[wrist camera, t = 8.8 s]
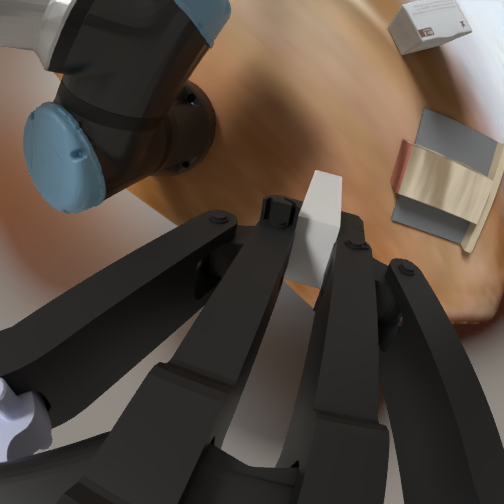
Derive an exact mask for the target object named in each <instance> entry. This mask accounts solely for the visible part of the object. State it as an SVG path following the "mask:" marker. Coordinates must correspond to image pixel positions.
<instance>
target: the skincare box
mask: <svg viewBox="0 0 504 504" xmlns="http://www.w3.org/2000/svg"><path fill="white" fill-rule="evenodd" d="M387 28H388V30H389V32H390V34H391V36H392V38H393V39H394V41H395V43H396V45H397V47H398V49H399V51H400V54H401V55H405V54H409V53H413V52H417V51H421V50H425V49H429V48H433V47H437V46H440V45H443V44H445V43H447V42H449V41H452V40H454V39H456V38H459V37H461V36H464V35H467V34H469V33H471V32H472V29H471V27H470V25H469V23H468V21H467V20H466V18H465V16H464V14H463V12H462V11H461V9H460V7H459V5H458V4H457V2H456V0H420V1H416V2H412V3H408V4H403V5H402V6H401V8H400V9H399V11H398V12H397V14H396V15H395V17H394V18H393V20H392V21H391V23H390V24H389V26H388V27H387Z"/></svg>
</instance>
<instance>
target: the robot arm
mask: <svg viewBox="0 0 504 504" xmlns="http://www.w3.org/2000/svg"><path fill="white" fill-rule="evenodd" d="M230 14H231V6H230V3H229V1H228V0H0V47H9V48H17V49H24V50H32V51H34V52H35V53H36V54H37V55H38V57H39V59H40V61H41V63H42V65H43V67H44V69H45V70H46V71H51V72H56V73H61V74H63V77H62V80H61V83H60V86H59V88H58V91H57V94H56V97H55V100H54V101H53V102H46V103H43V104H42V105H41V106H39V107H38V108H36V110H35V111H33V112H31V114H30V115H29V117H28V119H27V122H26V125H25V128H24V136H23V149H24V156H25V161H26V165H27V168H28V171H29V173H30V176H31V178H32V181H33V183H34V184H35V186H36V188H37V190H38V191H39V193H40V194H41V195H42V197H43V198H44V199H45V200H46V201H47V202H48V203H49V204H50V205H51V206H52V207H54V208H55V209H57V210H59V211H61V212H64V213H68V214H70V213H73V214H76V213H80V212H82V211H84V210H87V209H89V208H92V207H95V206H98V205H99V204H101V203H102V202H103V201H104V200H105V199H107V198H109V197H111V196H112V195H114V194H116V193H118V192H120V191H121V190H123V189H125V188H127V187H129V186H131V185H133V184H135V183H136V182H138V181H140V180H142V179H144V178H146V177H148V176H173V175H177V174H180V173H183V172H185V171H187V170H189V169H191V168H193V167H194V166H196V165H197V164H198V163H199V162H200V161H201V160H202V159H203V158H204V157H205V156H206V154H207V153H208V151H209V149H210V147H211V145H212V142H213V138H214V133H215V117H214V112H213V108H212V106H211V103H210V101H209V99H208V98H207V96H206V94H205V93H204V92H203V91H202V90H201V89H200V88H199V87H198V86H197V85H196V84H194V83H193V82H191V81H189V80H188V79H189V77H190V76H191V74H192V73H193V71H194V70H195V68H196V67H197V65H198V64H199V62H200V61H201V59H202V58H203V57H204V55H205V54H206V52H207V51H208V50H209V48H212V47H213V45H214V40H215V38H216V37H217V35H218V34H219V32H220V31H221V29H222V28H223V26H224V25H225V24H226V22H227V21H228V19H229V17H230ZM341 197H342V177H340V176H337V175H333V174H329V173H326V172H322V171H318V170H315V173H314V175H313V178H312V181H311V183H310V186H309V189H308V192H307V194H306V197H305V200H304V202H303V201H299V200H295V199H291V198H288V197H285V196H279V195H271V196H266V197H265V198H264V199H263V205H262V211H261V217H260V220H259V222H258V223H257V225H256V226H239V225H237V218H236V217H235V216H234V215H233V214H231V213H228V212H225V211H222V210H215V211H208V212H205V213H203V214H201V215H199V216H197V217H195V218H193V219H192V220H190V221H188V222H186V223H184V224H182V225H180V226H178V227H177V228H175V229H173V230H171V231H169V232H167V233H166V234H164V235H162V236H160V237H158V238H156V239H155V240H153V241H151V242H149V243H147V244H146V245H144V246H142V247H140V248H139V249H137V250H135V251H133V252H131V253H130V254H128V255H126V256H124V257H123V258H121V259H119V260H118V261H116V262H114V263H112V264H111V265H109V266H107V267H106V268H104V269H102V270H101V271H99V272H97V273H96V274H94V275H92V276H91V277H89V278H87V279H86V280H84V281H83V282H81V283H79V284H77V285H76V286H74V287H73V288H71V289H69V290H68V291H66V292H65V293H63V294H61V295H60V296H58V297H57V298H55V299H53V300H52V301H50V302H49V303H47V304H46V305H44V306H43V307H41V308H40V309H38V310H36V311H35V312H33V313H32V314H30V315H29V316H28V317H26V318H24V319H23V320H22V321H20V322H18V323H17V324H16V325H14V326H13V327H10V328H7V329H4V330H2V331H0V504H383V503H384V497H385V488H386V479H387V470H388V458H389V431H388V429H387V427H386V426H385V425H381V424H379V422H378V416H377V414H378V386H379V377H380V381H381V384H382V389H383V393H384V397H385V401H386V405H387V410H388V414H389V419H390V423H391V428H392V433H393V438H394V443H395V449H396V454H397V459H398V465H399V471H400V477H401V484H402V490H403V498H404V504H504V448H503V446H502V442H501V439H500V436H499V433H498V430H497V427H496V424H495V421H494V418H493V415H492V413H491V410H490V407H489V405H488V402H487V400H486V397H485V395H484V392H483V390H482V387H481V385H480V382H479V380H478V378H477V375H476V373H475V371H474V369H473V367H472V364H471V362H470V360H469V358H468V356H467V354H466V352H465V349H464V347H463V345H462V343H461V341H460V339H459V337H458V335H457V334H456V331H455V330H454V328H453V326H452V324H451V322H450V320H449V318H448V316H447V315H446V313H445V311H444V309H443V307H442V305H441V304H440V302H439V300H438V298H437V297H436V295H435V293H434V292H433V290H432V288H431V286H430V285H429V283H428V281H427V280H426V278H425V277H424V275H423V273H422V272H421V270H420V269H419V268H418V267H417V266H416V265H414V264H413V263H412V262H409V261H408V260H406V259H405V260H404V259H399V258H395V259H392V260H391V262H390V264H389V266H387V265H385V264H383V263H381V262H379V261H377V260H376V259H374V258H373V257H372V249H371V247H370V245H369V244H368V243H367V242H365V235H364V228H363V227H364V226H363V221H362V220H361V219H360V217H359V216H357V215H353V214H350V213H346V212H343V211H341ZM283 278H284V279H287V280H291V281H294V282H298V283H301V284H305V285H309V286H312V287H316V288H319V289H320V288H321V290H320V293H319V295H318V298H317V301H316V304H315V306H314V309H313V311H315V316H314V321H313V326H312V331H311V336H310V341H309V346H308V350H307V355H306V359H305V364H304V368H303V373H302V377H301V381H300V385H299V389H298V394H297V398H296V402H295V406H294V410H293V414H292V417H291V421H290V425H289V428H288V432H287V436H286V440H285V443H284V446H283V450H282V453H281V456H280V458H279V460H278V462H277V464H276V467H275V468H264V467H251V466H248V465H246V464H244V463H243V462H241V461H239V460H237V459H236V458H234V457H232V456H231V455H229V454H227V453H226V452H224V451H222V450H221V446H222V443H223V440H224V438H225V435H226V432H227V430H228V428H229V425H230V423H231V420H232V418H233V415H234V413H235V410H236V408H237V405H238V402H239V400H240V397H241V395H242V392H243V390H244V387H245V385H246V382H247V379H248V377H249V374H250V372H251V369H252V366H253V364H254V361H255V358H256V355H257V353H258V350H259V347H260V345H261V342H262V339H263V337H264V334H265V331H266V328H267V326H268V323H269V320H270V317H271V315H272V312H273V309H274V306H275V303H276V301H277V298H278V295H279V292H280V289H281V286H282V282H283ZM322 282H323V283H322ZM321 285H322V287H321ZM205 304H206V305H205ZM204 305H205V306H204ZM203 306H204V308H203V309H202V311H201V312H200V314H199V316H198V317H197V319H196V320H195V322H194V324H193V325H192V327H191V329H190V330H189V331H188V333H187V335H186V337H185V338H184V340H183V341H182V343H181V344H180V346H179V348H178V349H177V351H176V352H175V354H174V356H173V357H172V358H171V360H170V361H169V362H168V363H162V362H159V363H158V364H156V365H155V366H154V367H153V368H152V369H151V371H150V372H149V373H148V375H147V376H146V378H145V379H144V381H143V382H142V384H141V385H140V387H139V388H138V390H137V391H136V393H135V395H134V396H133V398H132V399H131V401H130V402H129V404H128V405H127V407H126V408H125V410H124V411H123V413H122V415H121V416H120V418H119V419H118V421H117V422H116V424H115V425H114V427H113V429H112V430H111V431H110V432H106V433H102V434H100V435H97V436H94V437H91V438H88V439H85V440H82V441H79V442H76V443H73V444H70V445H66V446H63V447H60V448H57V449H53V450H49V451H46V452H42V453H38V454H35V455H33V454H34V452H36V451H37V450H39V449H43V450H44V449H47V448H49V447H50V446H51V443H52V435H51V429H52V428H54V427H57V426H59V425H61V424H63V423H65V422H67V421H68V420H70V419H72V418H73V417H75V416H76V415H77V414H79V413H80V412H82V411H83V410H84V409H86V408H87V407H88V406H89V405H90V404H92V403H93V402H94V401H95V400H96V399H97V398H98V397H100V396H101V395H102V394H103V393H104V392H105V391H107V390H108V389H109V388H110V387H111V386H112V385H114V384H115V383H116V382H117V381H118V380H119V379H120V378H122V377H123V376H124V375H125V374H126V373H127V372H129V371H130V370H131V369H132V368H133V367H134V366H136V365H137V364H138V363H139V362H140V361H141V360H142V359H144V358H145V357H146V356H147V355H148V354H149V353H150V352H152V351H153V350H154V349H155V348H156V347H157V346H159V345H160V344H161V343H162V342H163V341H164V340H165V339H167V338H168V337H169V336H170V335H171V334H172V333H173V332H175V331H176V330H177V329H178V328H179V327H180V326H181V325H183V324H184V323H185V322H186V321H187V320H188V319H189V318H191V317H192V316H193V315H194V314H195V313H196V312H197V311H198V310H199V309H201V308H202V307H203ZM401 317H402V324H401V322H400V319H401Z"/></svg>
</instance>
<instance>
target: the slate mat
mask: <svg viewBox="0 0 504 504" xmlns="http://www.w3.org/2000/svg"><path fill="white" fill-rule="evenodd" d="M414 144H417V145H420V146H422V147H425V148H427V149H430V150H432V151H435V152H437V153H439V154H442V155H444V156H446V157H449V158H451V159H453V160H456V161H458V162H460V163H462V164H464V165H466V166H469V167H471V168H473V169H475V170H477V171H479V172H481V173H482V174H484V175H485V176H486V177H488V178H489V179H491V180H492V181H493V184H492V187H491V190H490V193H489V195H488V198H487V201H486V203H485V206H484V208H483V211H482V213H481V216H480V218H479V220H478V223H477V224H475V223H473V222H470V221H468V220H466V219H463V218H461V217H458V216H456V215H454V214H451V213H449V212H446V211H444V210H441V209H439V208H436V207H433V206H431V205H428V204H426V203H423V202H420V201H418V200H415V199H412V198H409V197H406V196H404V195H401V194H399V196H398V199H397V202H396V205H395V208H394V211H393V214H392V217H391V220H393V221H396V222H399V223H402V224H405V225H408V226H411V227H414V228H417V229H420V230H423V231H425V232H428V233H431V234H434V235H437V236H440V237H442V238H445V239H448V240H450V241H453V242H456V243H459V244H461V246H462V247H463V249H464V251H466V252H469V253H471V252H472V250H473V248H474V245H475V243H476V241H477V239H478V237H479V235H480V232H481V230H482V228H483V225H484V223H485V221H486V218H487V216H488V213H489V211H490V208H491V206H492V203H493V201H494V198H495V195H496V193H497V190H498V187H499V184H500V181H501V178H502V175H503V172H504V144H501V143H499V142H497V141H495V140H493V139H491V138H489V137H487V136H485V135H484V134H482V133H480V132H478V131H476V130H474V129H472V128H470V127H467V126H465V125H463V124H461V123H459V122H457V121H455V120H452V119H450V118H448V117H446V116H443V115H441V114H438V113H436V112H434V111H431V110H429V109H426V108H423V111H422V116H421V120H420V124H419V128H418V132H417V136H416V140H415V143H414Z"/></svg>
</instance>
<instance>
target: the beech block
mask: <svg viewBox="0 0 504 504" xmlns="http://www.w3.org/2000/svg"><path fill="white" fill-rule="evenodd" d="M390 183H391V185H392V187H393V189H394V191H395V193H398V194H401V195H404V196H406V197H409V198H412V199H415V200H418V201H420V202H423V203H426V204H428V205H431V206H433V207H436V208H439V209H441V210H444V211H446V212H449V213H451V214H454V215H456V216H458V217H461V218H463V219H466V220H468V221H470V222H473V223H475V224H477V223H478V220H479V218H480V216H481V213H482V211H483V208H484V206H485V203H486V201H487V198H488V195H489V193H490V190H491V187H492V184H493V181H492V180H491V179H489V178H488V177H486V176H485V175H484V174H482V173H481V172H479V171H477V170H475V169H473V168H471V167H469V166H466V165H464V164H462V163H460V162H458V161H456V160H453V159H451V158H449V157H446V156H444V155H442V154H439V153H437V152H435V151H432V150H430V149H427V148H425V147H422V146H420V145H417V144H414V143H412V142H409V141H406V140H402V144H401V147H400V151H399V154H398V158H397V161H396V165H395V168H394V171H393V175H392V178H391V181H390Z"/></svg>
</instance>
